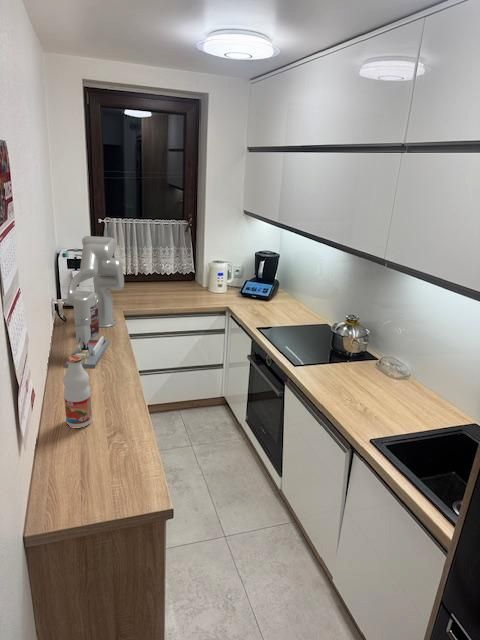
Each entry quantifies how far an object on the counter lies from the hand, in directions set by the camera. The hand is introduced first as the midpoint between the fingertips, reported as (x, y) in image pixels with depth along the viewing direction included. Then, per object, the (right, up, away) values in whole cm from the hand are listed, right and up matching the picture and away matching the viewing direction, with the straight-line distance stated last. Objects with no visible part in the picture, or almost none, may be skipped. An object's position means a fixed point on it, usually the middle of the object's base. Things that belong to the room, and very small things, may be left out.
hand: (85, 354), depth 220 cm
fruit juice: (+15, -23, -50) cm, 57 cm away
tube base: (-1, 0, +7) cm, 7 cm away
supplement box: (-7, +8, +30) cm, 32 cm away
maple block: (0, -3, -5) cm, 6 cm away
